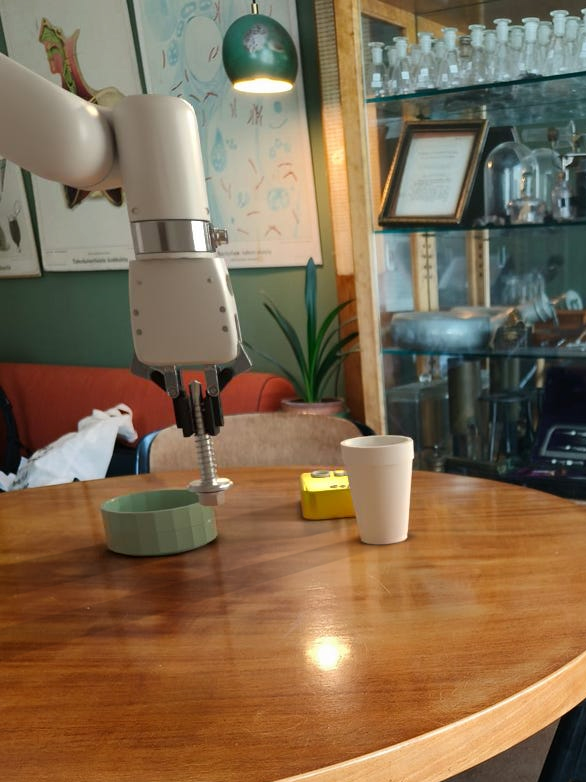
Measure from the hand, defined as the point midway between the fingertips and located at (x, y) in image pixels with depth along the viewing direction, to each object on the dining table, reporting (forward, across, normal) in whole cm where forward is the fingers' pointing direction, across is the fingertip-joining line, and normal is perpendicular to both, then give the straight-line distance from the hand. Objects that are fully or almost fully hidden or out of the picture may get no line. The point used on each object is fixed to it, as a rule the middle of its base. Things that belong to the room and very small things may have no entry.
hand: (202, 433), depth 93 cm
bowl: (+18, +12, -24) cm, 32 cm away
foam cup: (+18, -18, -20) cm, 32 cm away
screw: (+8, 0, 0) cm, 8 cm away
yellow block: (+18, -13, -40) cm, 46 cm away
